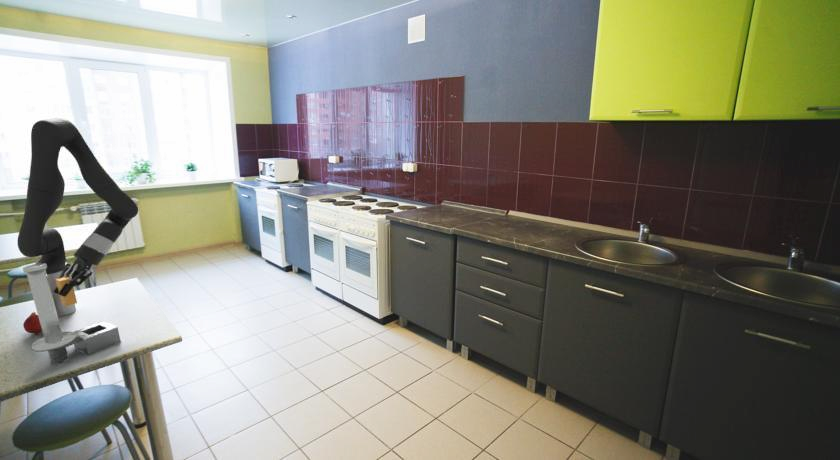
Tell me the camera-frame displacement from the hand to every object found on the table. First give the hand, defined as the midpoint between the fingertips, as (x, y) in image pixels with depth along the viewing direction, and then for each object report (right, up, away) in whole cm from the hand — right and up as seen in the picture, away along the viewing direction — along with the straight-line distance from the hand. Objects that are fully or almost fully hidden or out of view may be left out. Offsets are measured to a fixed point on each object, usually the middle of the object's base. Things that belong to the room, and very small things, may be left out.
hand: (59, 294), depth 130 cm
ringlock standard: (+11, -18, -5) cm, 21 cm away
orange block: (+1, -4, +3) cm, 5 cm away
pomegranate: (-13, -15, +7) cm, 21 cm away
